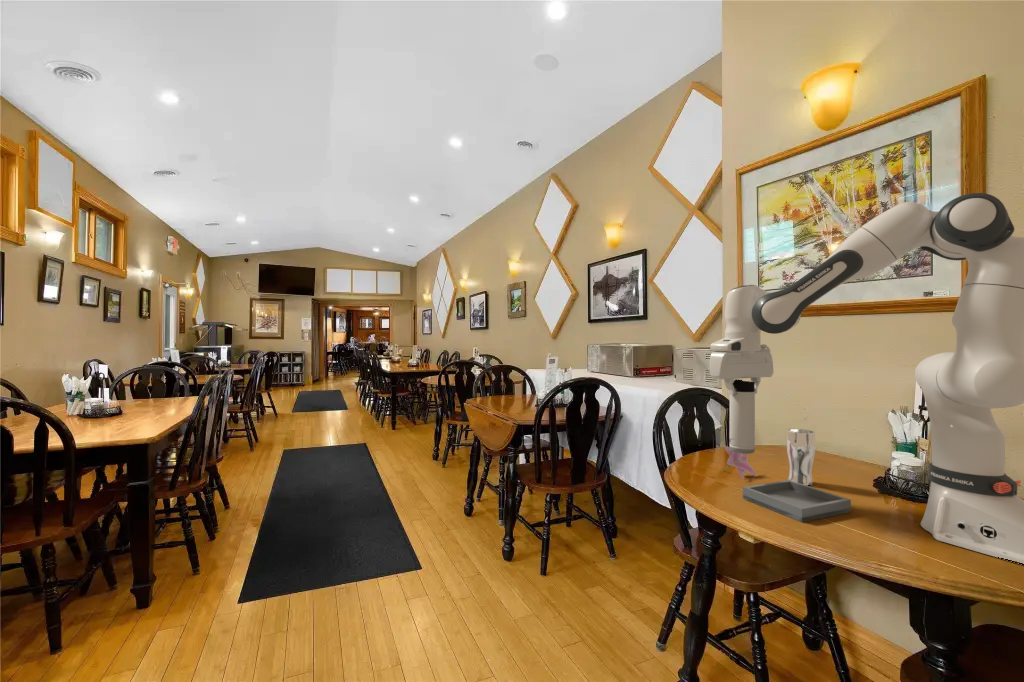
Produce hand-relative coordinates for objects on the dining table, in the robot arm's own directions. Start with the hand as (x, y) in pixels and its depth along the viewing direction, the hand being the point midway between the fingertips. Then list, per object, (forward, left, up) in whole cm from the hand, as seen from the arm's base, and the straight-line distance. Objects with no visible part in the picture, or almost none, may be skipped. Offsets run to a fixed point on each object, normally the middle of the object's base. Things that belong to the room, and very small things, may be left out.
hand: (742, 394), depth 126 cm
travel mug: (0, 0, -16) cm, 16 cm away
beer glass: (-2, -21, -26) cm, 34 cm away
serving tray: (-14, -2, -26) cm, 30 cm away
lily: (+10, -9, -27) cm, 30 cm away
